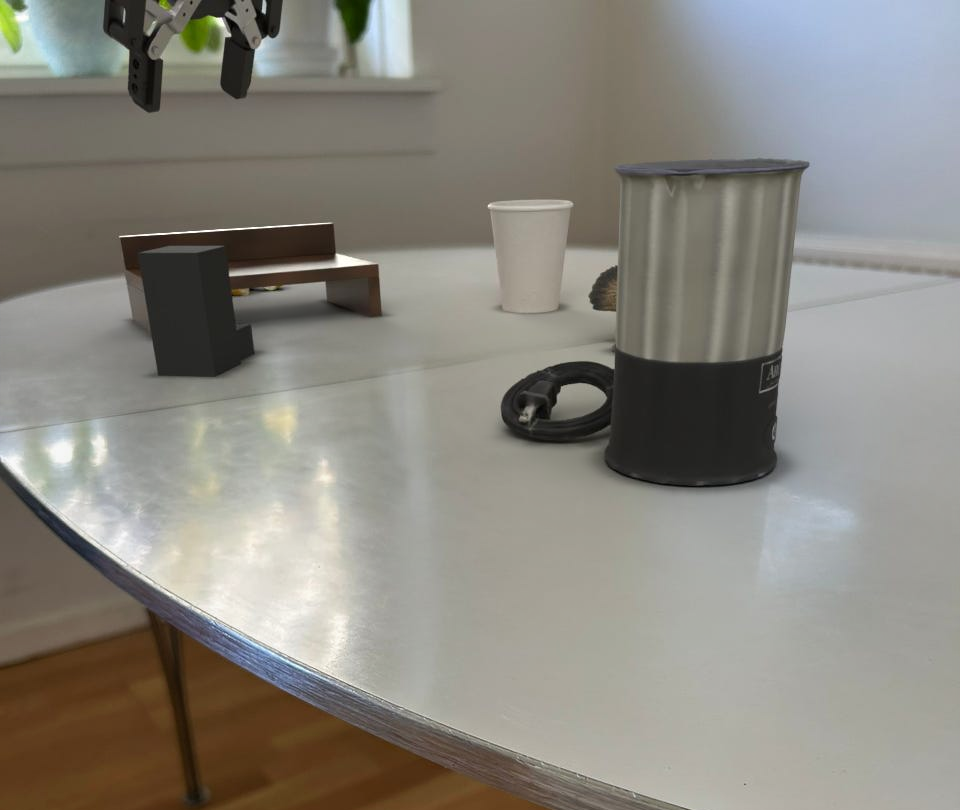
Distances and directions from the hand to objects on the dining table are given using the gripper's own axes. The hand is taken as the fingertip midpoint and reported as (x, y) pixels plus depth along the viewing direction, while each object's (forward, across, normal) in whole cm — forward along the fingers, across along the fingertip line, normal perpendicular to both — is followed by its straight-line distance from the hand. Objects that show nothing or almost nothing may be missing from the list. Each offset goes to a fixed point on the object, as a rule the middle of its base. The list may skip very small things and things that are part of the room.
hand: (190, 100), depth 74 cm
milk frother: (-2, +8, +45) cm, 46 cm away
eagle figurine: (+6, -19, +34) cm, 40 cm away
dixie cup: (+16, -31, +18) cm, 39 cm away
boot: (+16, +5, +10) cm, 19 cm away
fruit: (+32, -26, -16) cm, 44 cm away
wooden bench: (+24, -13, -2) cm, 27 cm away
